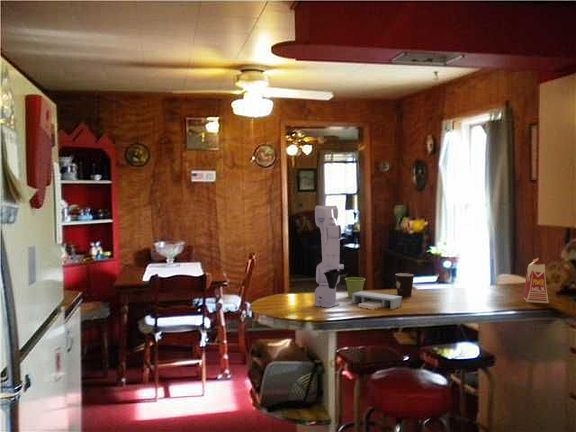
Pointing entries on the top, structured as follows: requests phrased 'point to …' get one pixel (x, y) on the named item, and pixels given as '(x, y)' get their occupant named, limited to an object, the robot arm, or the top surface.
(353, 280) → the plant pot
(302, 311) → the top surface
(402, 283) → the coffee mug
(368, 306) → the tile
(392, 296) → the shelf
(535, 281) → the milk carton
